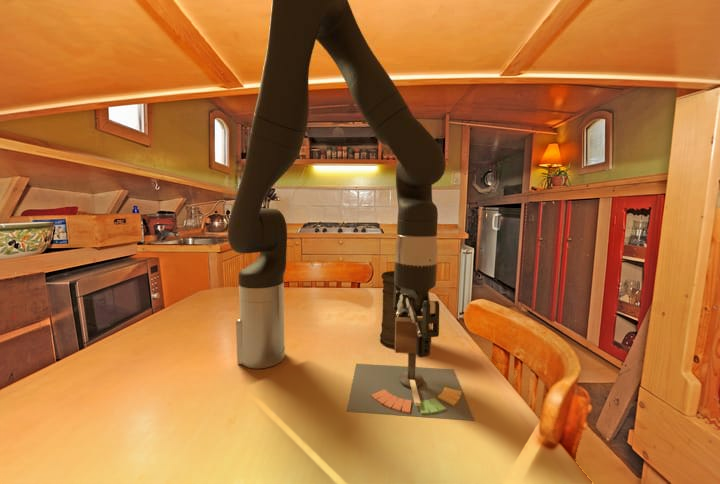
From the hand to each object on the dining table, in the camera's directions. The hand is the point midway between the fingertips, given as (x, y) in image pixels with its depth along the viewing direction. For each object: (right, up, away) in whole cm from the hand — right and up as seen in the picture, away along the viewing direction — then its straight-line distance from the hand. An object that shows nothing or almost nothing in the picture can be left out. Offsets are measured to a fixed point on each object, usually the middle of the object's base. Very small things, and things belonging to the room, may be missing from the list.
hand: (412, 345), depth 57 cm
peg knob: (0, -7, -2) cm, 8 cm away
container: (-1, -7, +18) cm, 19 cm away
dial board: (-1, -9, -1) cm, 9 cm away
